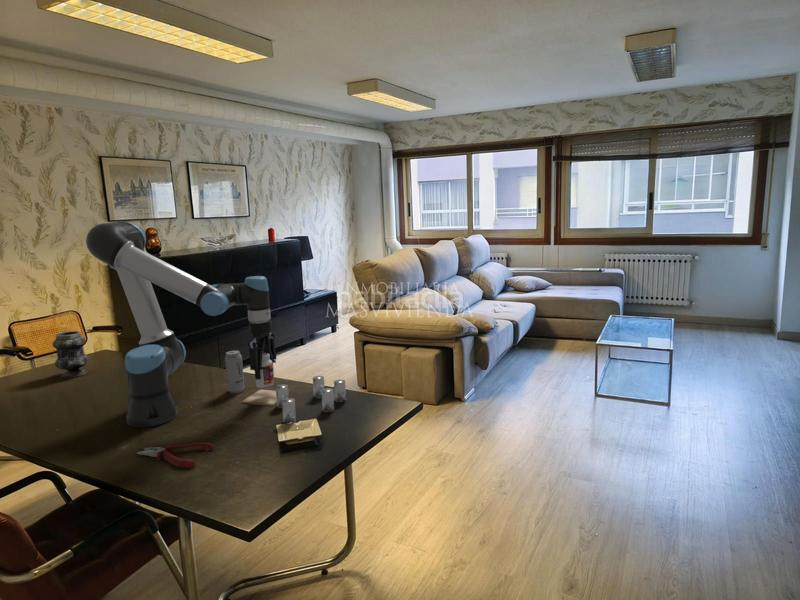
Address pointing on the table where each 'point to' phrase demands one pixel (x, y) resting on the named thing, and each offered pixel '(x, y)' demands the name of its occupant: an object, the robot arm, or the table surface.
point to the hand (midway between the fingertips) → (265, 383)
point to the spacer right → (327, 399)
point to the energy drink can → (234, 371)
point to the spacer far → (318, 385)
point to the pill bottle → (267, 370)
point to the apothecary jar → (70, 353)
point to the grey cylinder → (339, 390)
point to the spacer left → (281, 394)
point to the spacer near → (289, 410)
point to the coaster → (262, 398)
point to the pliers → (169, 451)
